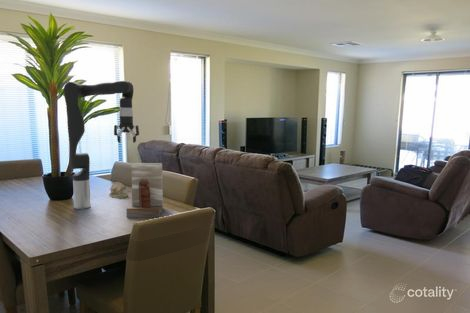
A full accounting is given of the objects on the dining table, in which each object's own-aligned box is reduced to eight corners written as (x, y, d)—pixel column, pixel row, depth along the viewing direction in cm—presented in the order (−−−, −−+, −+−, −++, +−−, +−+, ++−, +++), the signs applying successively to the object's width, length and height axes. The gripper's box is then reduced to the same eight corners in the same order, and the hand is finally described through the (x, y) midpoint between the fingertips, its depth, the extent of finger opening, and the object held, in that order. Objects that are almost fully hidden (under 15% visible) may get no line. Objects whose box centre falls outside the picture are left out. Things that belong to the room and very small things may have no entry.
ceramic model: (105, 196, 250) (105, 181, 248) (118, 192, 259) (118, 179, 258) (119, 199, 242) (118, 184, 241) (132, 195, 252) (132, 181, 250)
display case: (132, 208, 220) (131, 163, 216) (162, 208, 222) (162, 163, 218) (126, 217, 203) (125, 168, 199) (159, 217, 204) (158, 168, 200)
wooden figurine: (151, 211, 208) (151, 180, 206) (140, 212, 206) (139, 181, 203) (149, 206, 219) (148, 176, 217) (138, 206, 217) (137, 177, 214)
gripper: (112, 115, 210) (113, 143, 212) (137, 115, 211) (137, 143, 213) (115, 115, 217) (116, 142, 220) (139, 115, 219) (140, 142, 221)
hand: (126, 142), depth 217 cm, fingers open, 8 cm apart
